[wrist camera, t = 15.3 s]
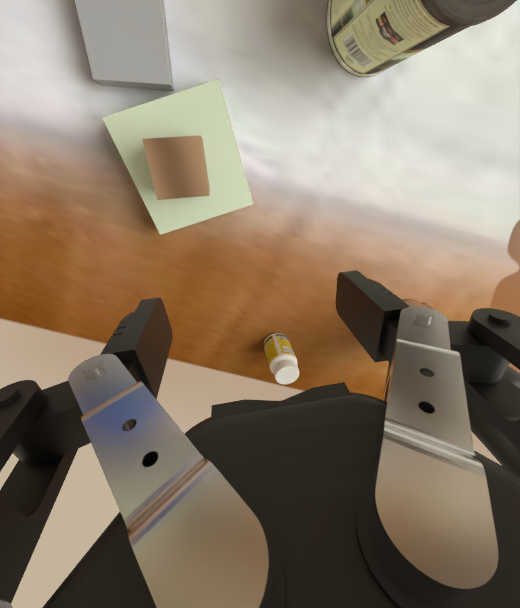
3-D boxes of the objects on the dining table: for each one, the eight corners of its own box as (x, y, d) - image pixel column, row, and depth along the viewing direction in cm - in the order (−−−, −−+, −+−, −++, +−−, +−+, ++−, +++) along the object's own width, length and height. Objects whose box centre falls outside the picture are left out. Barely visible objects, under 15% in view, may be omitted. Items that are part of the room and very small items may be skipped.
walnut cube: (202, 138, 27) (200, 135, 22) (209, 190, 29) (209, 195, 25) (153, 141, 26) (142, 138, 22) (165, 193, 29) (157, 200, 25)
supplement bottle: (265, 354, 48) (275, 389, 41) (260, 336, 46) (269, 369, 39) (290, 348, 48) (303, 381, 41) (286, 329, 46) (299, 361, 39)
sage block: (217, 88, 28) (218, 78, 25) (249, 199, 34) (253, 204, 31) (115, 122, 28) (101, 117, 25) (165, 226, 34) (160, 234, 31)
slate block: (163, -5, 24) (157, -24, 21) (174, 91, 27) (170, 84, 25) (82, -15, 23) (66, -36, 20) (104, 86, 26) (93, 79, 24)
